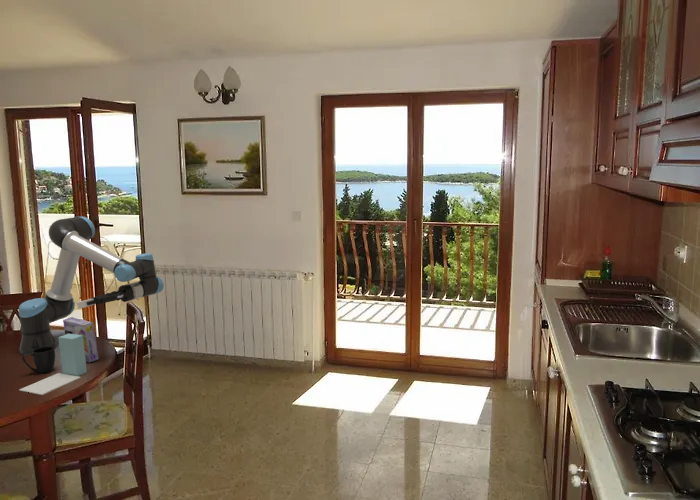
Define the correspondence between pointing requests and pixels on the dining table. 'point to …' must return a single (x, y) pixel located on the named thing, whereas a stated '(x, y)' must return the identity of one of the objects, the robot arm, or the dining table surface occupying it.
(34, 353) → the mug
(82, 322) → the cake pan box
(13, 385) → the dining table surface
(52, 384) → the white mat
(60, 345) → the teal block
